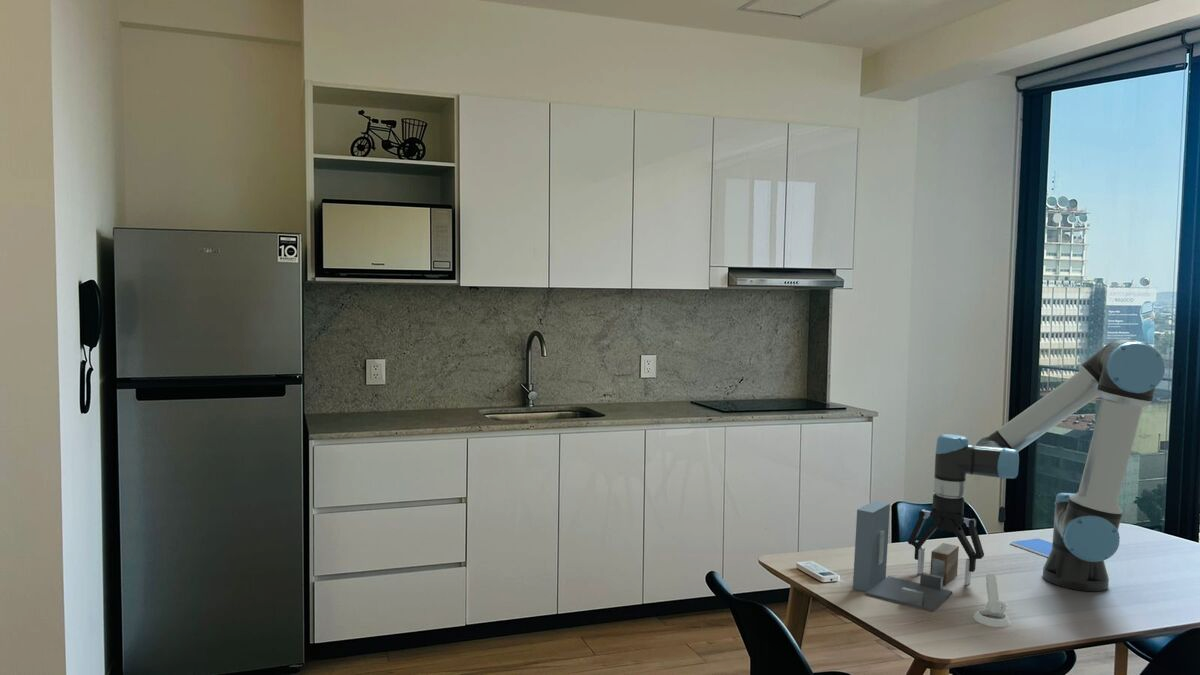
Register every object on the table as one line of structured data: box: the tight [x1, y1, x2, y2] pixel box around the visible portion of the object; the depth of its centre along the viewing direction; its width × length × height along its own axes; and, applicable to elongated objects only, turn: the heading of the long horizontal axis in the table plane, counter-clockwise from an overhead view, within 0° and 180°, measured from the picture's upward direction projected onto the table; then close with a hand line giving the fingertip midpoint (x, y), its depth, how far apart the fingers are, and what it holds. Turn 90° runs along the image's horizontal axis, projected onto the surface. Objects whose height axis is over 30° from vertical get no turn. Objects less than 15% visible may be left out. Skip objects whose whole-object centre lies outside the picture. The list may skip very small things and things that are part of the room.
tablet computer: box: [1009, 538, 1053, 559], centre depth 256 cm, size 19×13×1 cm, turn 24°
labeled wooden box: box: [929, 542, 960, 586], centre depth 228 cm, size 4×11×8 cm, turn 143°
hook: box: [972, 573, 1011, 628], centre depth 203 cm, size 8×12×7 cm
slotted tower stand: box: [852, 500, 953, 612], centre depth 217 cm, size 20×16×20 cm
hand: (943, 577), depth 229 cm, fingers open, 11 cm apart
